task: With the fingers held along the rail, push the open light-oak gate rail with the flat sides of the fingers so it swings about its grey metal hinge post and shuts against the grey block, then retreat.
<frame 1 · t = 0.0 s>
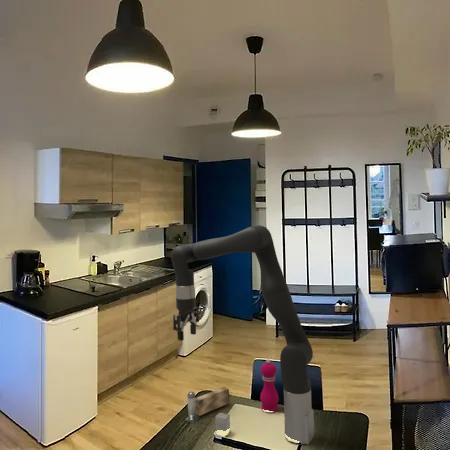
hand: (187, 337, 170), 29 cm above the table, fingers open, 8 cm apart
grey block: (223, 433, 154), on the table
pepper mill: (269, 409, 170), on the table
gate: (212, 400, 171), point 4 cm above the table, hinge at 70.0°
hinge post: (192, 419, 165), on the table
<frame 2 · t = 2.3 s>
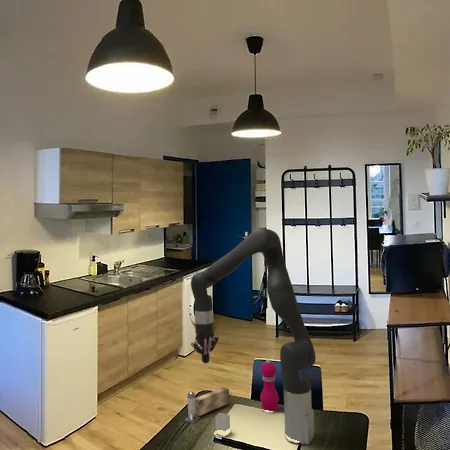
hand: (205, 362, 177), 17 cm above the table, fingers closed
nothing on the table moved.
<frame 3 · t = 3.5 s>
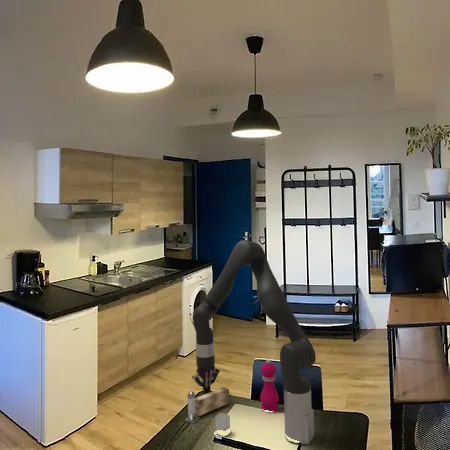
hand: (206, 394, 178), 3 cm above the table, fingers closed
nothing on the table moved.
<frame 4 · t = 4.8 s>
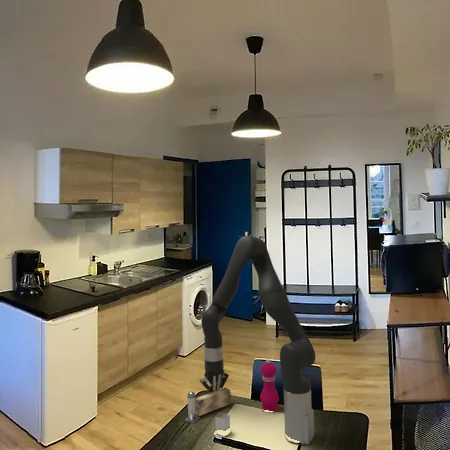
hand: (215, 399, 174), 3 cm above the table, fingers closed
gate: (213, 401, 170), point 4 cm above the table, hinge at 67.3°, touching gripper
everything else where it was.
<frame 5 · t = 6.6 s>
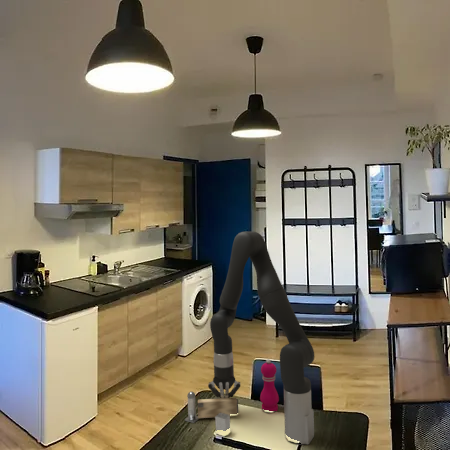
hand: (225, 407, 167), 3 cm above the table, fingers closed
gate: (218, 407, 165), point 4 cm above the table, hinge at 32.5°, touching gripper
everything else where it was.
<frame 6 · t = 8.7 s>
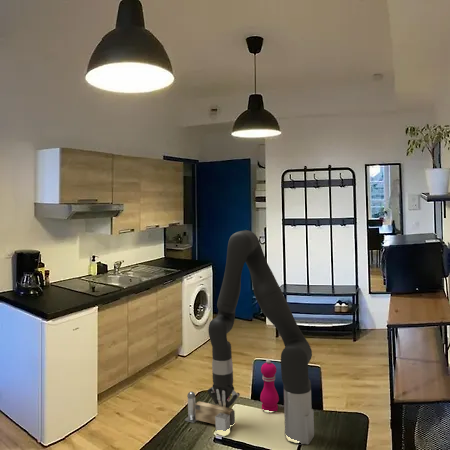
hand: (224, 415, 161), 3 cm above the table, fingers closed
gate: (214, 414, 160), point 4 cm above the table, hinge at 1.8°, touching gripper
everything else where it was.
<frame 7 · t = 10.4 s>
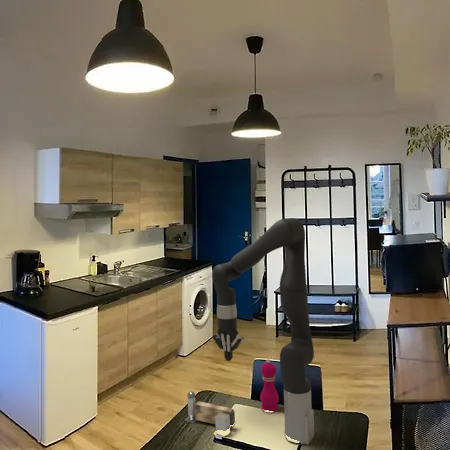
hand: (228, 360, 167), 21 cm above the table, fingers closed
gate: (214, 414, 160), point 4 cm above the table, hinge at 1.8°
everything else where it was.
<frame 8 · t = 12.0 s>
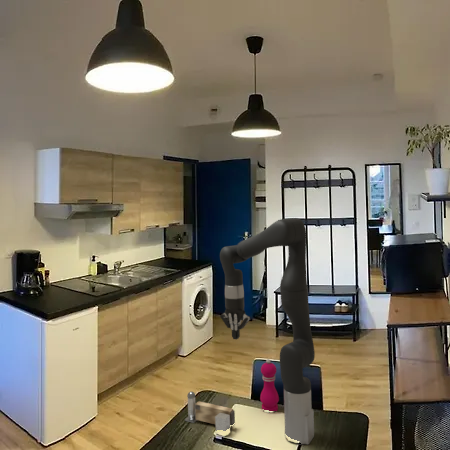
hand: (235, 338, 174), 27 cm above the table, fingers closed
nothing on the table moved.
at the end: gate at +2° (first picture: +70°); pepper mill moved 0.2 cm from its start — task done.
